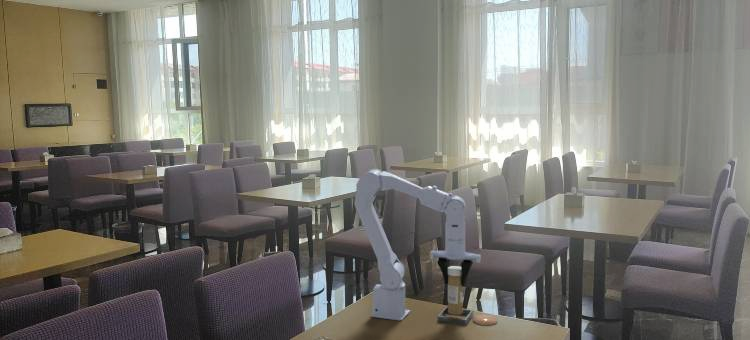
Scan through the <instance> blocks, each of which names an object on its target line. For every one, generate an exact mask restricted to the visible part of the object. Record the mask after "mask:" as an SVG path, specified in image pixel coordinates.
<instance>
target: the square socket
mask: <svg viewBox="0 0 750 340" xmlns="http://www.w3.org/2000/svg"><path fill="white" fill-rule="evenodd" d="M447 313H448V306H445V307H444V308H443V309H442V310H441V312H440V313H438V315H437V322H441V323H446V324H447V323H448V324H454V325H461V326H462V325H463V326H467V324H469V322H470V320H471V318H473V317H474V310H473V309H468V308H463V313H461V314H460V315H464V316H465V315H466V317H465V318H458V317H450V316H446V314H447Z"/></svg>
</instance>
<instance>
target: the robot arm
mask: <svg viewBox="0 0 750 340" xmlns="http://www.w3.org/2000/svg"><path fill="white" fill-rule="evenodd" d="M355 185H356V191H355V197H354V203H353V204H354V207H355V209H356V212H357V214H358V216H359V219H360V222H361V224H362V225H363V229H364V231H365V234H366V236H367V237H368V238H367V239H368V241H369V243H370V246H371V247H372V249H373V252H374V254H375V257H376V259H377V269H378V271H379V282H380V284H377V283H376V285H375V286H374V287H373V289H372V314H371V317H372V318H379V319H386V320H393V321H394V320H395V321H403V320H404V319H405V318H406V316H408V315H409V314H410V312H411V310H409V309H406V283H405V282H404V280H403V278H404V276H405V275H406V267H405V266H404V264H403V262H401V261H400V260H399V259H398V255H396V253H395V252H394V251H393V249H392V247H391V244H390V242H389V240H388V238H387V237H388V236H387V235H386V233H385V230H384V228H383V225H382V223H381V221H380V218H379V216H378V213H377V212H376V208H375V207H374V204H373V203H374V201H375V198H376V197H377V195H378V192H380V190H381V192H382V191H388V190H395V191H397V192H400V193H404V194H407V195H409V196H411V197H414V198H418V199H419V202H420V204H421V205H423V206H425V207H428V208H430V209H433V210H435V211H437V212H440V213H444V214H445V229H444V230H445V233H444V235H445V236H444V237H445V239H444V241H445V242H444V244H445V249H444V250H431V251H430V253H429V254H430V255H429V256H430V259H438V260H437V265H438V267H439V269H440V270H441V272H442V277H443V279H444V284H445V285H448V273H447V270H448V267H450V261H452V260H453V261H462V262H461V263H460V267H461V269H462V286H463V287H465V286H466V285H467V279H468V275H469V273H470V270H471V268H472V266H473V264H474V262H475V263H477V264H480V262H481V261H482V258H481V257H482V255H481V254H477V253H472V252H467V251H466V222H465V221H466V216H465V214H466V210H467V209H466V202H465V200H464V199H463V198H462V197H461V196H459V195H458V194H457V195H456V194H453V193H452V192H449V193H447V192H446V191H442V190H440V189H438V186H437V185H433V186H430V185H428V186H425V187H422V186H419V185H417V184H415V183H413V182H411V181H408V180H406V179H405V178H402V177H399V176H398V175H396V174H393V173H391V172H388V171H385V170H384V171H383V170H380V169H379V168H372V169H370V170H368V171H367V172H364V173H363V174H362V175H361V176H360V177H359V179H358V181H357V183H356V184H355Z"/></svg>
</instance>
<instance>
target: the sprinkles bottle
mask: <svg viewBox="0 0 750 340" xmlns="http://www.w3.org/2000/svg"><path fill="white" fill-rule="evenodd" d="M447 273H448V284H447V307H448V312H447V313H448V314H451V315H462V314H461V313H463V309H464V307H463V303H464V302H463V301H464V297H463V296H464V295H463V294H464V286H462V269H461V265H460V266H458V265H449V267H448V270H447Z"/></svg>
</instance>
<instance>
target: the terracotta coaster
mask: <svg viewBox="0 0 750 340" xmlns="http://www.w3.org/2000/svg"><path fill="white" fill-rule="evenodd" d="M472 322H473V323H474V324H477V325H481V326H493V325H496V324H497V323H498V318H497V316H494V315H490V314H477V315H473V316H472Z"/></svg>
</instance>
